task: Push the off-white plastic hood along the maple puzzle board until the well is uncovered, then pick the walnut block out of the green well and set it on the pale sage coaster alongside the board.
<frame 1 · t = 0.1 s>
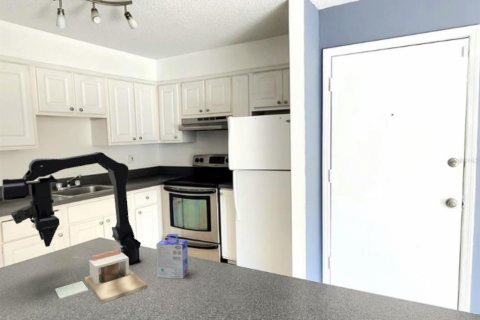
hand: (45, 242, 102), 15 cm above the countertop, fingers open, 9 cm apart
coaster pad: (71, 290, 99), on the countertop
ink cartridge box: (173, 275, 109), on the countertop
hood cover: (109, 265, 107), point 5 cm above the countertop, slide at 0.0 cm
puzzle board: (114, 284, 103), on the countertop
walnut block: (110, 278, 107), resting on puzzle board
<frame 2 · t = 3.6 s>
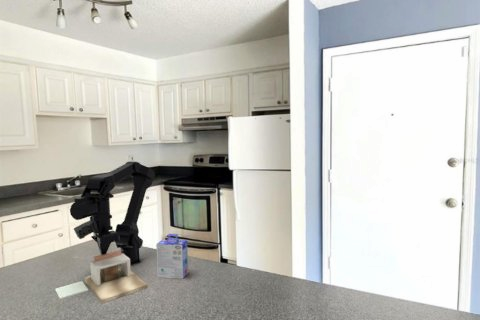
hand: (103, 256, 108), 8 cm above the countertop, fingers closed
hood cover: (110, 266, 106), point 5 cm above the countertop, slide at 1.4 cm, touching gripper
everything else where it was.
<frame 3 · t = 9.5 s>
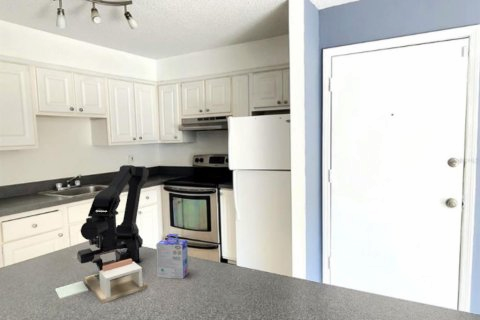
hand: (109, 274, 107), 2 cm above the countertop, fingers closed on walnut block, 4 cm apart
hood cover: (121, 276, 98), point 5 cm above the countertop, slide at 11.6 cm
walnut block: (110, 278, 107), resting on puzzle board, touching gripper
everything else where it was.
when the fingers open (4 cm above the countertop, at t = 13.2 s): walnut block drops 1 cm, resting on coaster pad.
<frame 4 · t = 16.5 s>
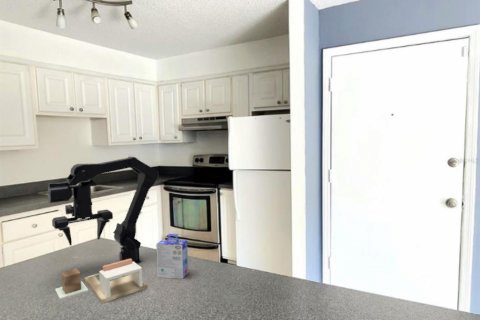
hand: (84, 242, 110), 12 cm above the countertop, fingers open, 9 cm apart
walnut block: (71, 289, 99), point 1 cm above the countertop, touching coaster pad
everything else where it was.
at the end: walnut block inside the target area on the coaster pad (0.1 cm from its centre), point 0.6 cm above the coaster pad's base; walnut block tilted 0°; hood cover slide at 11.6 cm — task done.
